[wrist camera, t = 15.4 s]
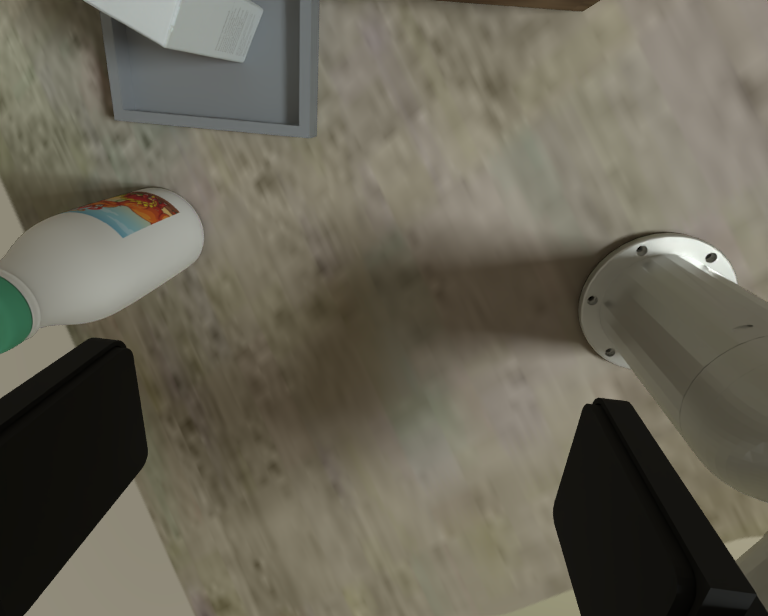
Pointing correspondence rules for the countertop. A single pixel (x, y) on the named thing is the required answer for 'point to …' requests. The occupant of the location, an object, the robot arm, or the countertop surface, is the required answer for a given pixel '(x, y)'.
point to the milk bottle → (95, 261)
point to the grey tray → (222, 77)
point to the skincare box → (190, 24)
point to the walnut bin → (538, 3)
